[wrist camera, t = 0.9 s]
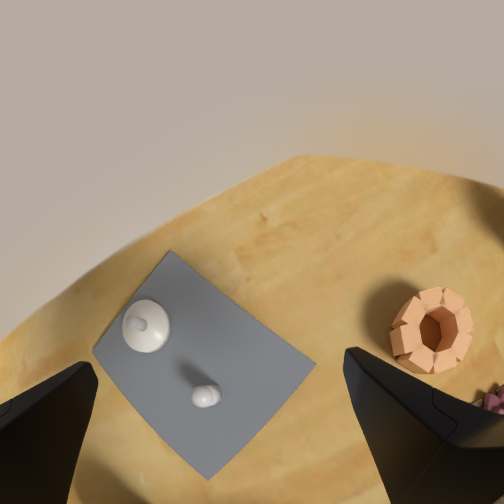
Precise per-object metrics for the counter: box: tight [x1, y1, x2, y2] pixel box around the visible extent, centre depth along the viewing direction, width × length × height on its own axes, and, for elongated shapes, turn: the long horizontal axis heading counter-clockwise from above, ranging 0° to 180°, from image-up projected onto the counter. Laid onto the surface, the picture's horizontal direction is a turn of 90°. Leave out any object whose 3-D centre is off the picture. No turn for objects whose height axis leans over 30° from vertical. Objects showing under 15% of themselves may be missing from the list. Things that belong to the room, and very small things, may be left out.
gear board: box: [92, 250, 316, 480], centre depth 23 cm, size 18×15×5 cm
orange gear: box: [389, 286, 474, 374], centre depth 19 cm, size 7×7×4 cm
